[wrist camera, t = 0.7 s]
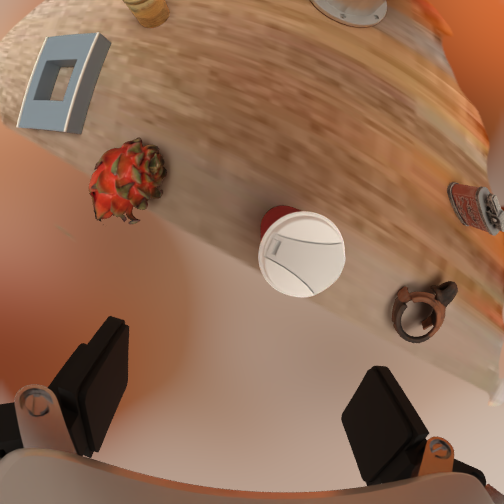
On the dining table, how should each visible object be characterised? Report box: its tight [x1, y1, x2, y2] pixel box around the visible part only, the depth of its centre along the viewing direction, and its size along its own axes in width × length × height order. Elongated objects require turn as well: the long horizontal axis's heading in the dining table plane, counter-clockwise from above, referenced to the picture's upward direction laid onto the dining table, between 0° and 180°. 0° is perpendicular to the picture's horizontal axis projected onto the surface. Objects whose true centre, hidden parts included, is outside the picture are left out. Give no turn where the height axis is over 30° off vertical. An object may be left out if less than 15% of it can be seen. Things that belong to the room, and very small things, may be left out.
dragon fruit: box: [89, 138, 167, 224], centre depth 31 cm, size 8×8×12 cm
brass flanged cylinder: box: [123, 0, 170, 28], centre depth 24 cm, size 4×4×8 cm
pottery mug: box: [392, 281, 458, 343], centre depth 39 cm, size 12×10×8 cm
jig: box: [16, 32, 111, 134], centre depth 28 cm, size 14×10×4 cm
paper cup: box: [258, 206, 345, 297], centre depth 30 cm, size 8×8×14 cm
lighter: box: [447, 182, 504, 235], centre depth 32 cm, size 8×3×10 cm, turn 43°
